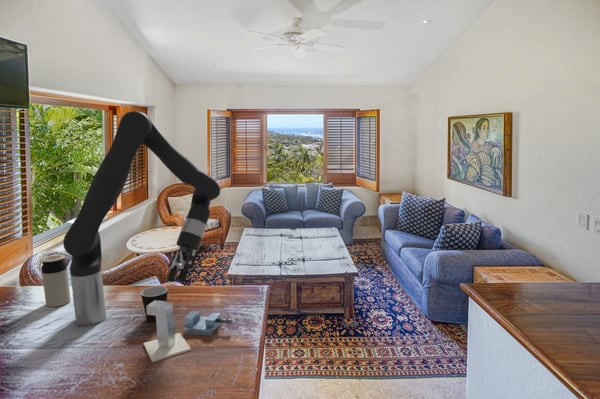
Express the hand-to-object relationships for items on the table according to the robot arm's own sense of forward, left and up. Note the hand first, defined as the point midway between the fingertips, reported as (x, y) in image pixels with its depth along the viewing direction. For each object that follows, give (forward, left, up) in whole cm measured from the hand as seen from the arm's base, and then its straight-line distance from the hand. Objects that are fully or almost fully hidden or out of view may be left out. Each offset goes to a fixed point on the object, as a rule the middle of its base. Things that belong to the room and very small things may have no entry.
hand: (175, 281), depth 127 cm
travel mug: (-32, +45, -16) cm, 58 cm away
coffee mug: (-3, +12, -16) cm, 21 cm away
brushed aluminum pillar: (-8, -11, -16) cm, 21 cm away
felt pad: (-6, -10, -16) cm, 20 cm away
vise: (+8, -7, -16) cm, 19 cm away
